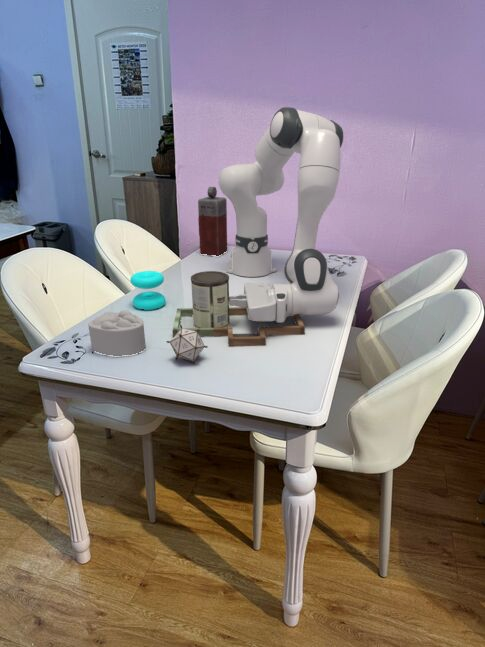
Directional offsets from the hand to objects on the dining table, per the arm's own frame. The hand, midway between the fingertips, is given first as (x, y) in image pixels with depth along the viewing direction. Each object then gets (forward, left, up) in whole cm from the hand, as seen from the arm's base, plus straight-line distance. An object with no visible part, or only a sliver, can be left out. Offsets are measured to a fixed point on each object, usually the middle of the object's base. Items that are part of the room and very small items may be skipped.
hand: (229, 301), depth 124 cm
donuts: (-16, -24, -7) cm, 30 cm away
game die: (+20, -10, -7) cm, 24 cm away
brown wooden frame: (0, +2, -7) cm, 7 cm away
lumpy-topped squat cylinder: (+13, -28, -7) cm, 31 cm away
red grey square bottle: (-77, -6, -7) cm, 78 cm away
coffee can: (0, -5, -7) cm, 9 cm away
